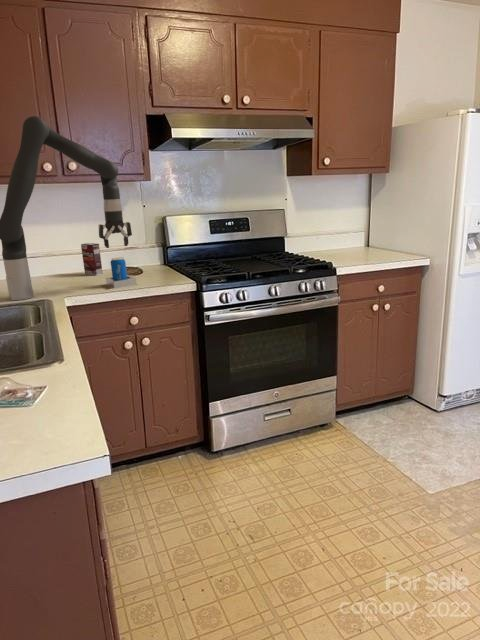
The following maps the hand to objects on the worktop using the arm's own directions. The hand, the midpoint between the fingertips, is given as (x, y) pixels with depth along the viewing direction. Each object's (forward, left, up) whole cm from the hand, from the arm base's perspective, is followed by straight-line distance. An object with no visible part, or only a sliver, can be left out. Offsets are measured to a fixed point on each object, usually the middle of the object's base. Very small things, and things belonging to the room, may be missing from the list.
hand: (116, 246), depth 215 cm
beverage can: (0, 0, -18) cm, 18 cm away
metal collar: (0, 0, -17) cm, 17 cm away
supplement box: (-1, +38, -18) cm, 42 cm away
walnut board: (-1, 0, -18) cm, 18 cm away
